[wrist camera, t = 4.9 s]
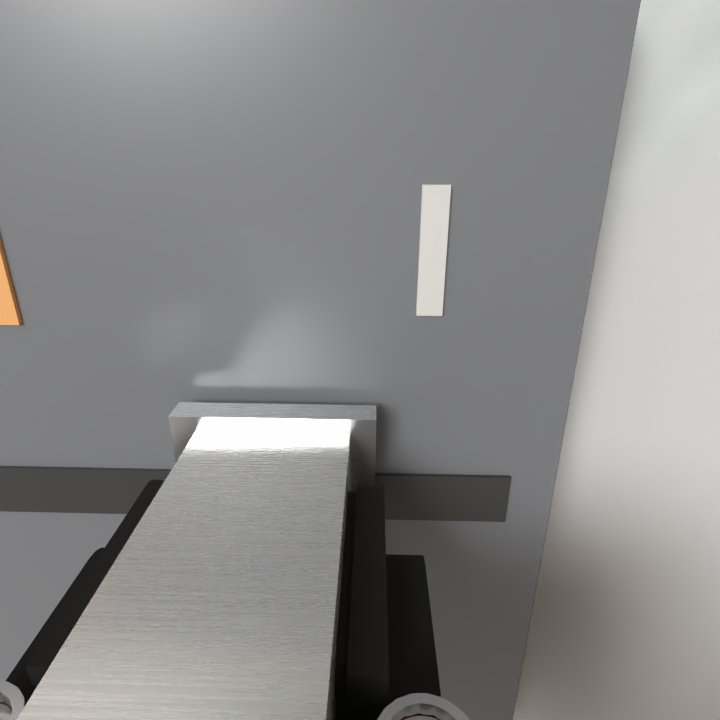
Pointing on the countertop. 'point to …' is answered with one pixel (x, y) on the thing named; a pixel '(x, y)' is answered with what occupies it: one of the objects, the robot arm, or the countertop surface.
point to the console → (303, 269)
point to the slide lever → (224, 575)
